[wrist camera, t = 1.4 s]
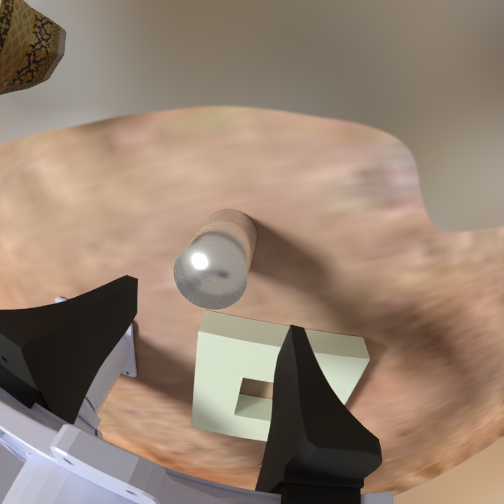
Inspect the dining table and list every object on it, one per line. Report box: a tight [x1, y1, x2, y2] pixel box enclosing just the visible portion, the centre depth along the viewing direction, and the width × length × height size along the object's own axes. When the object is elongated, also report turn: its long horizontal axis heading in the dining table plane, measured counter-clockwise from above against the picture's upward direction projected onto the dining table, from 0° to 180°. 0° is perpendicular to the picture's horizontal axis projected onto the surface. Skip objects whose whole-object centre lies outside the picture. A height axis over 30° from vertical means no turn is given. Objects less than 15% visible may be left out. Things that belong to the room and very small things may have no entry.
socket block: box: [191, 310, 370, 441], centre depth 26 cm, size 14×14×3 cm
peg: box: [174, 209, 257, 309], centre depth 19 cm, size 4×4×7 cm
